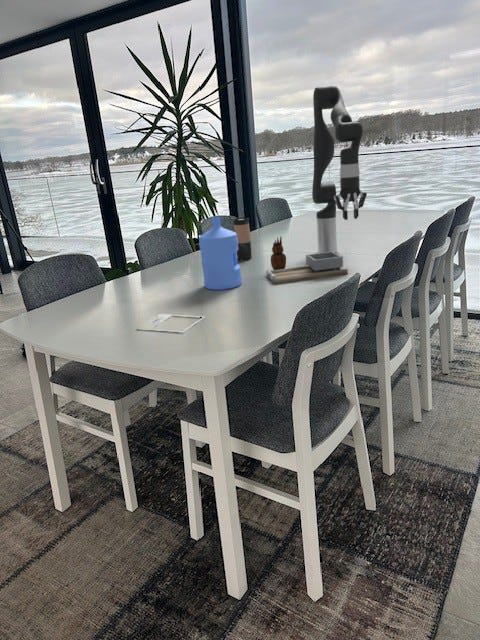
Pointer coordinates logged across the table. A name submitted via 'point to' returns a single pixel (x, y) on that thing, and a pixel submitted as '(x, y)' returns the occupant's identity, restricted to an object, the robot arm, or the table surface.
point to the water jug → (220, 257)
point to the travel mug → (243, 238)
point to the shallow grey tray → (324, 261)
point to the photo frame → (165, 316)
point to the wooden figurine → (278, 256)
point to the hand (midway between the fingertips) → (350, 218)
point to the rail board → (301, 274)
